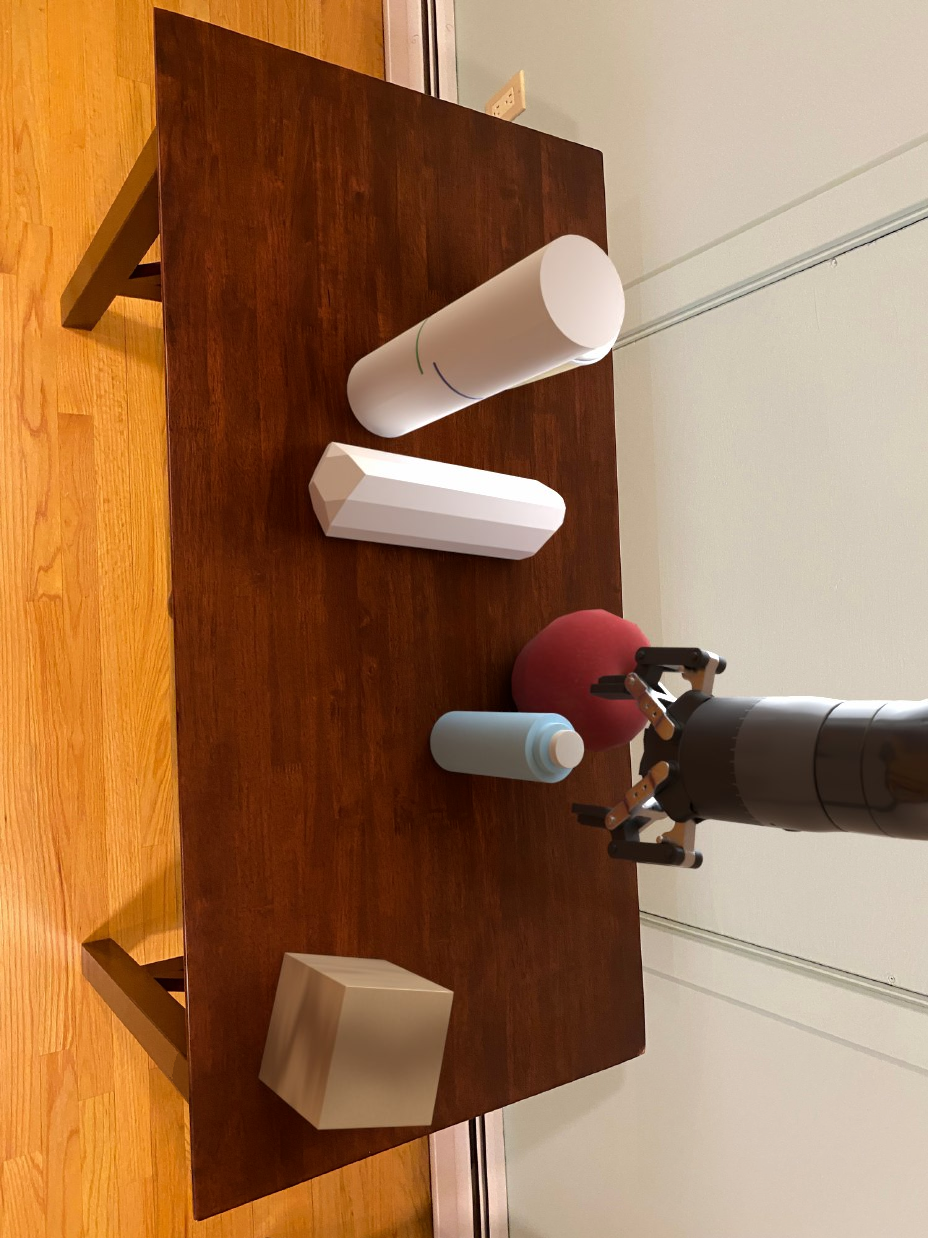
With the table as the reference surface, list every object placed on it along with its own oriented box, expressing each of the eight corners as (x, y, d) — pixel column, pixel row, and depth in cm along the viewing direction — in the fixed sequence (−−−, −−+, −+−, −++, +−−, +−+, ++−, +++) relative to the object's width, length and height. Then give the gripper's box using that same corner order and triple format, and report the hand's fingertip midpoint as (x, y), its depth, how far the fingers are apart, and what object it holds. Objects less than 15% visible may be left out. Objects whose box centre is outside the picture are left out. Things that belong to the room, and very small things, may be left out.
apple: (499, 600, 85) (600, 586, 74) (591, 638, 91) (697, 630, 80) (471, 729, 82) (571, 734, 71) (568, 759, 88) (674, 768, 77)
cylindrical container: (379, 453, 78) (579, 367, 58) (331, 379, 76) (521, 263, 56) (434, 411, 82) (640, 316, 61) (389, 339, 80) (588, 216, 59)
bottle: (473, 776, 82) (590, 790, 69) (424, 765, 79) (537, 778, 66) (484, 717, 83) (600, 721, 70) (436, 705, 80) (548, 707, 68)
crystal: (561, 457, 85) (321, 406, 71) (587, 518, 81) (341, 477, 68) (517, 508, 90) (285, 470, 76) (540, 568, 86) (301, 539, 72)
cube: (362, 1078, 74) (431, 1126, 65) (257, 1078, 69) (317, 1130, 60) (384, 960, 75) (454, 992, 67) (284, 952, 71) (345, 985, 62)
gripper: (753, 626, 53) (565, 641, 66) (724, 881, 50) (533, 843, 63) (830, 657, 57) (639, 666, 70) (808, 895, 54) (612, 857, 67)
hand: (589, 750), depth 67 cm, fingers open, 8 cm apart
